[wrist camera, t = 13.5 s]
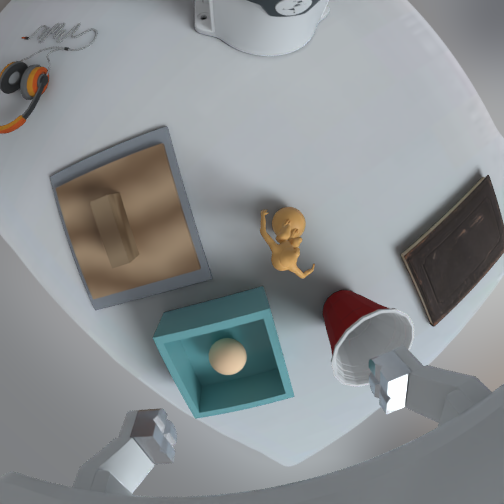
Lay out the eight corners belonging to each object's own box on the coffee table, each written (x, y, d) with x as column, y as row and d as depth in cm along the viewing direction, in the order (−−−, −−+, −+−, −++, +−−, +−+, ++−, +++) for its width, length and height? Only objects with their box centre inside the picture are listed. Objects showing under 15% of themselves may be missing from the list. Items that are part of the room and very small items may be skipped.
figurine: (317, 234, 37) (354, 259, 26) (282, 265, 38) (305, 303, 27) (275, 185, 36) (298, 189, 24) (239, 218, 36) (244, 237, 25)
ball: (204, 336, 39) (202, 356, 34) (239, 327, 39) (241, 347, 34) (216, 364, 40) (215, 385, 35) (249, 356, 40) (252, 377, 35)
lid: (59, 187, 33) (39, 190, 28) (163, 143, 33) (153, 138, 28) (96, 296, 37) (81, 311, 32) (201, 266, 37) (196, 280, 32)
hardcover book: (396, 252, 40) (404, 256, 37) (480, 174, 38) (489, 175, 36) (428, 322, 44) (435, 328, 41) (501, 245, 42) (509, 248, 39)
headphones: (101, 16, 25) (16, 140, 24) (109, 37, 30) (35, 151, 30) (31, 11, 22) (-40, 116, 22) (41, 27, 28) (-22, 125, 27)
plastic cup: (323, 353, 42) (349, 404, 31) (292, 299, 39) (316, 345, 28) (382, 316, 42) (423, 356, 30) (359, 259, 39) (405, 290, 27)
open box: (163, 312, 38) (152, 338, 32) (262, 285, 39) (270, 308, 32) (198, 387, 42) (195, 418, 35) (285, 367, 42) (294, 396, 35)
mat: (52, 176, 33) (49, 176, 32) (167, 126, 33) (166, 126, 32) (96, 308, 38) (95, 310, 37) (212, 277, 38) (211, 279, 37)
